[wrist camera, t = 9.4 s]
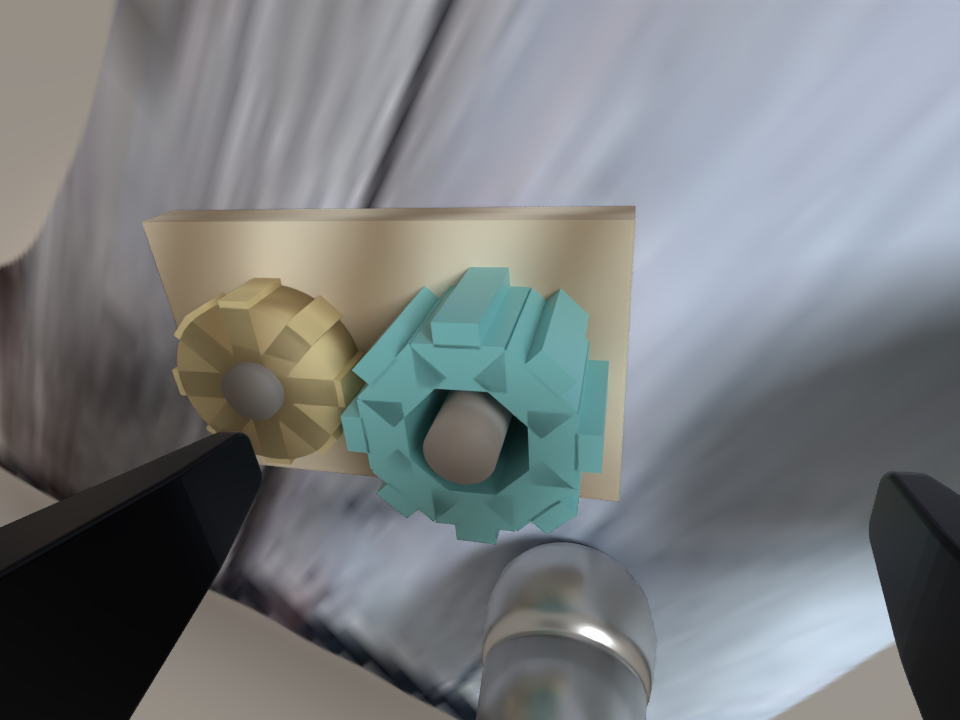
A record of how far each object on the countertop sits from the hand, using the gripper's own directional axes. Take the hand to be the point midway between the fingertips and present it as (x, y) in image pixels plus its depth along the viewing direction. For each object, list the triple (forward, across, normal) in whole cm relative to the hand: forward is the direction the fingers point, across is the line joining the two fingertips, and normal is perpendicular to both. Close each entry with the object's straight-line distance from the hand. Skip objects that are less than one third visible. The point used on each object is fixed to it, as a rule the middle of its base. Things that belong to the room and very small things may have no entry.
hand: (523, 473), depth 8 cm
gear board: (+11, +7, +4) cm, 14 cm away
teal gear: (+10, +3, +4) cm, 11 cm away
